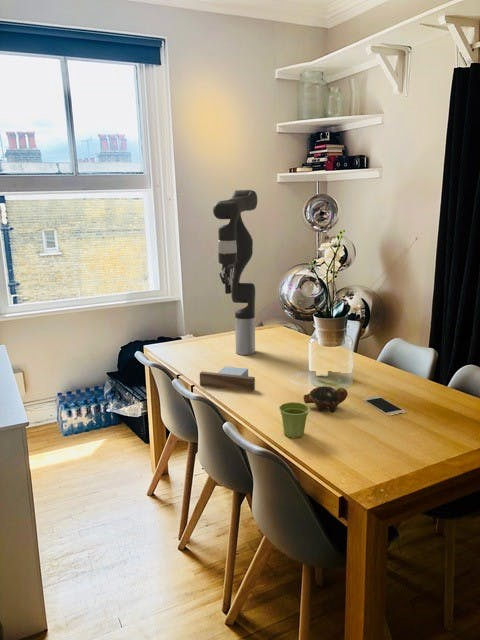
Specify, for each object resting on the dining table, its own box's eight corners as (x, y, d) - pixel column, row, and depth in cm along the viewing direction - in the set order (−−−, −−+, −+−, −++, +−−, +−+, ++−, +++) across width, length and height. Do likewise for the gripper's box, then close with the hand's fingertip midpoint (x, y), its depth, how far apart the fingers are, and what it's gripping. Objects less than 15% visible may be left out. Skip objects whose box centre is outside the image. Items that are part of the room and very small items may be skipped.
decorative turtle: (348, 415, 175) (347, 393, 172) (303, 415, 178) (301, 393, 175) (347, 402, 184) (347, 381, 182) (304, 402, 187) (303, 382, 185)
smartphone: (388, 417, 173) (389, 414, 173) (362, 401, 187) (362, 398, 187) (406, 414, 176) (406, 411, 175) (378, 398, 190) (378, 395, 189)
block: (225, 376, 215) (225, 366, 214) (248, 379, 211) (248, 368, 210) (215, 385, 205) (214, 374, 204) (238, 388, 201) (238, 377, 200)
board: (202, 383, 207) (202, 371, 205) (254, 389, 199) (254, 377, 198) (200, 385, 204) (199, 373, 203) (252, 391, 197) (252, 379, 196)
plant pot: (310, 428, 165) (311, 403, 163) (307, 442, 156) (308, 415, 154) (281, 426, 167) (281, 401, 165) (276, 439, 158) (276, 412, 156)
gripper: (225, 249, 219) (226, 290, 223) (212, 253, 207) (213, 295, 211) (241, 250, 216) (242, 291, 220) (230, 253, 204) (230, 296, 208)
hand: (228, 293), depth 215 cm, fingers closed
